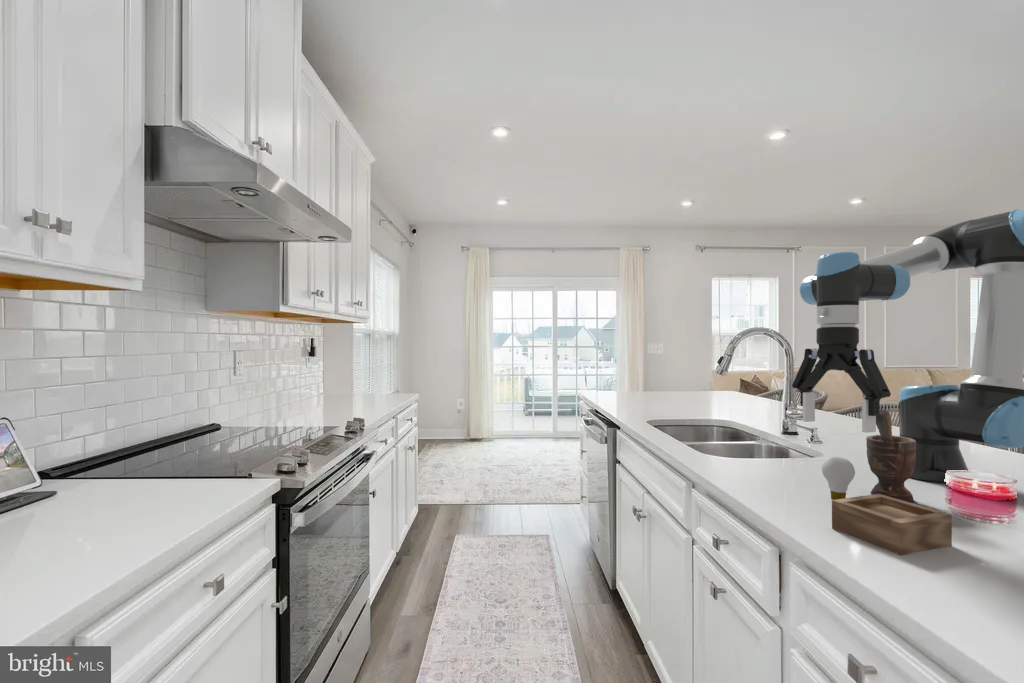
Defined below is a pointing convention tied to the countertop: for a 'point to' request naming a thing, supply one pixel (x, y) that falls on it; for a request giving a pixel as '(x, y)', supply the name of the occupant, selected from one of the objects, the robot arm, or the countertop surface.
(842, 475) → the light bulb
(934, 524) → the tray
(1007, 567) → the countertop surface
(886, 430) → the mortar and pestle
